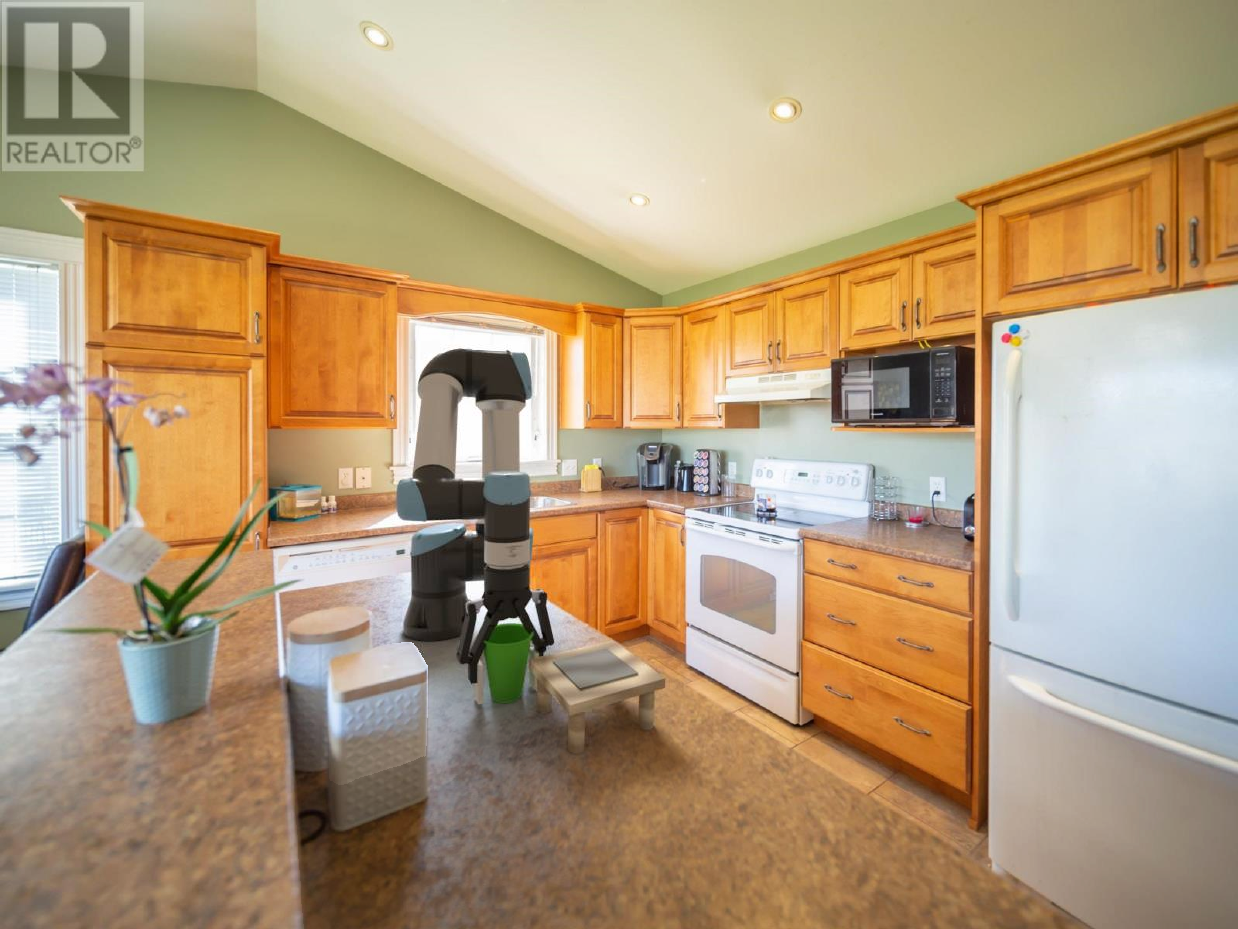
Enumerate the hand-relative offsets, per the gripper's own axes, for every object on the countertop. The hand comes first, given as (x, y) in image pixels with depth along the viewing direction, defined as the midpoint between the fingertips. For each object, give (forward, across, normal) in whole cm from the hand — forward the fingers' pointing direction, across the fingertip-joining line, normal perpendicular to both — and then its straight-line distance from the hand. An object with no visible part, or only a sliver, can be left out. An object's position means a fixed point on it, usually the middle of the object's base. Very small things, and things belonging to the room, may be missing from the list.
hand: (506, 692), depth 88 cm
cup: (+1, 0, 0) cm, 1 cm away
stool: (0, +10, -13) cm, 16 cm away
